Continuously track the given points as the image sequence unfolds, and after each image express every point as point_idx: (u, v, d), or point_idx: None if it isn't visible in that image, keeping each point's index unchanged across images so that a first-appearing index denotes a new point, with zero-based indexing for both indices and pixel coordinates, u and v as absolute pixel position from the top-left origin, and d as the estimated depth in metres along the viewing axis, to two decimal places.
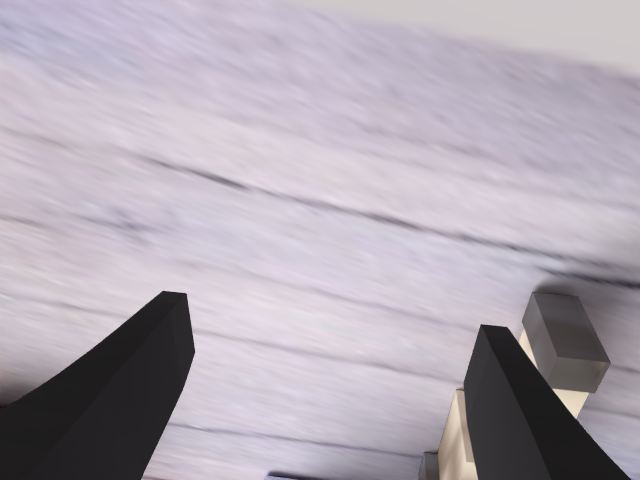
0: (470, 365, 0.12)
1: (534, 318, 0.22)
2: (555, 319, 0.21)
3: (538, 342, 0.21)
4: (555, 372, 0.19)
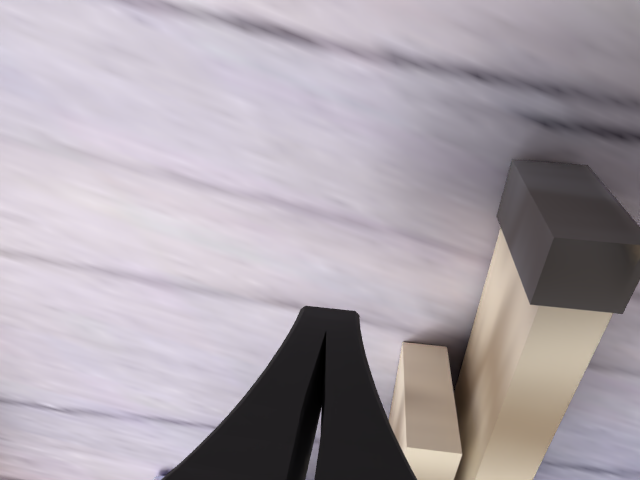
0: None
1: (514, 198, 0.13)
2: (550, 190, 0.12)
3: (520, 233, 0.12)
4: (551, 271, 0.10)
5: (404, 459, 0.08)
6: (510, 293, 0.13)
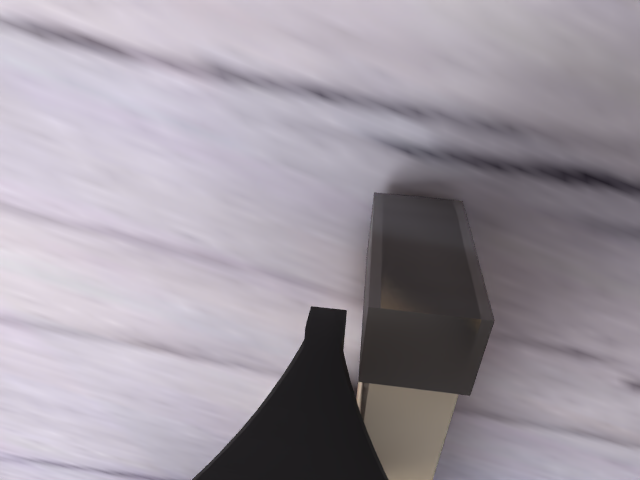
0: None
1: (369, 241, 0.11)
2: (399, 236, 0.10)
3: (366, 286, 0.10)
4: (374, 345, 0.08)
5: (375, 455, 0.08)
6: None
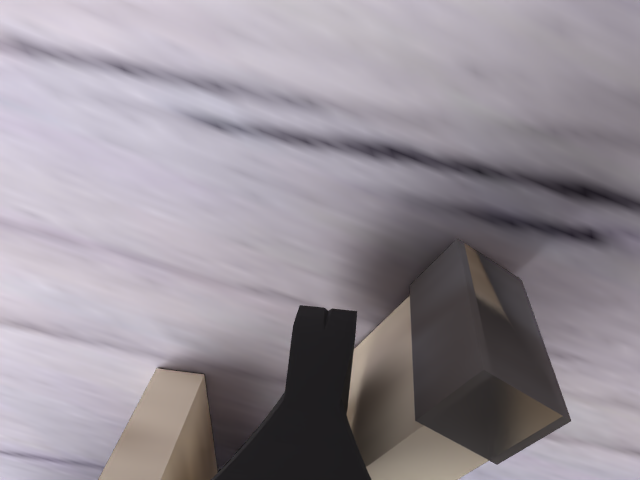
0: None
1: (443, 284, 0.11)
2: (486, 298, 0.10)
3: (436, 329, 0.10)
4: (456, 400, 0.09)
5: (357, 453, 0.08)
6: (389, 381, 0.11)
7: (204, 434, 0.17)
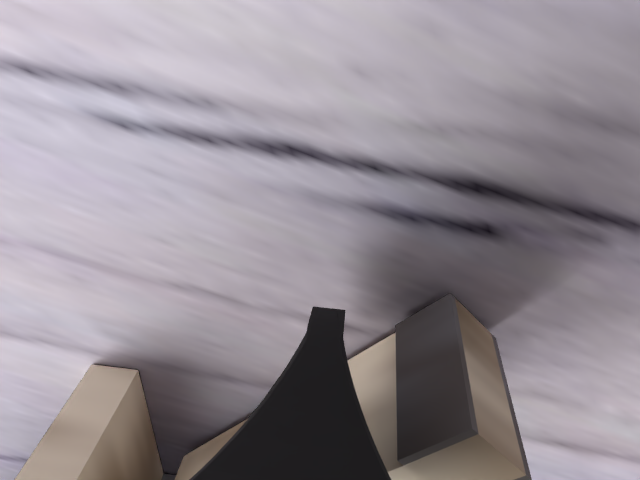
0: None
1: (433, 334, 0.12)
2: (472, 355, 0.11)
3: (423, 376, 0.11)
4: (441, 449, 0.10)
5: (377, 456, 0.08)
6: (367, 414, 0.12)
7: (141, 429, 0.17)
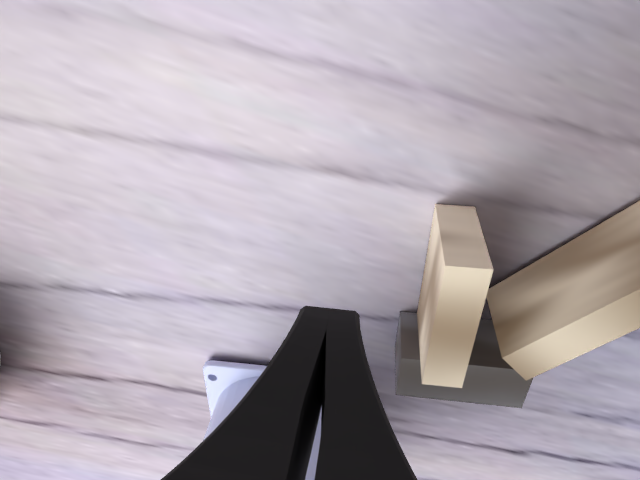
0: None
1: None
2: None
3: None
4: None
5: (404, 459, 0.08)
6: None
7: None
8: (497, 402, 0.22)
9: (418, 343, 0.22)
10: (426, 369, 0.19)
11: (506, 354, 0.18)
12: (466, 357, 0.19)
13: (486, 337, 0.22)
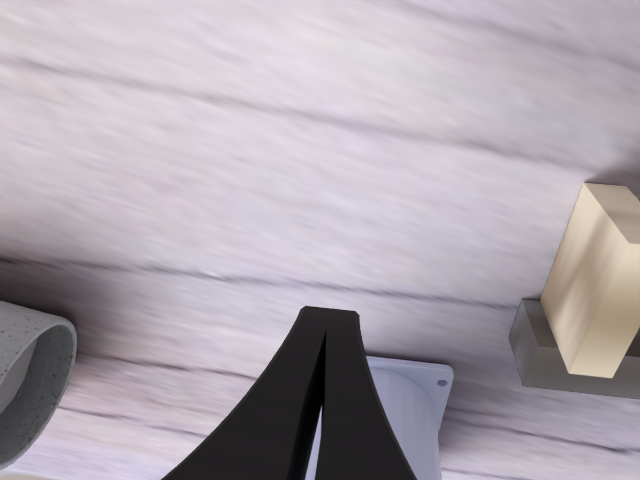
0: None
1: None
2: None
3: None
4: None
5: (404, 459, 0.08)
6: None
7: None
8: (632, 395, 0.21)
9: (551, 331, 0.21)
10: (578, 357, 0.18)
11: None
12: (626, 344, 0.18)
13: None
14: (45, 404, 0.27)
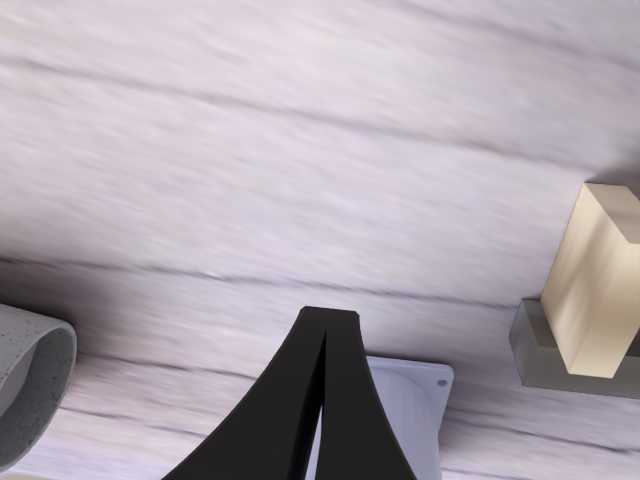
0: None
1: None
2: None
3: None
4: None
5: (404, 459, 0.08)
6: None
7: None
8: (632, 395, 0.21)
9: (551, 331, 0.21)
10: (578, 357, 0.18)
11: None
12: (626, 344, 0.18)
13: None
14: (45, 406, 0.27)
